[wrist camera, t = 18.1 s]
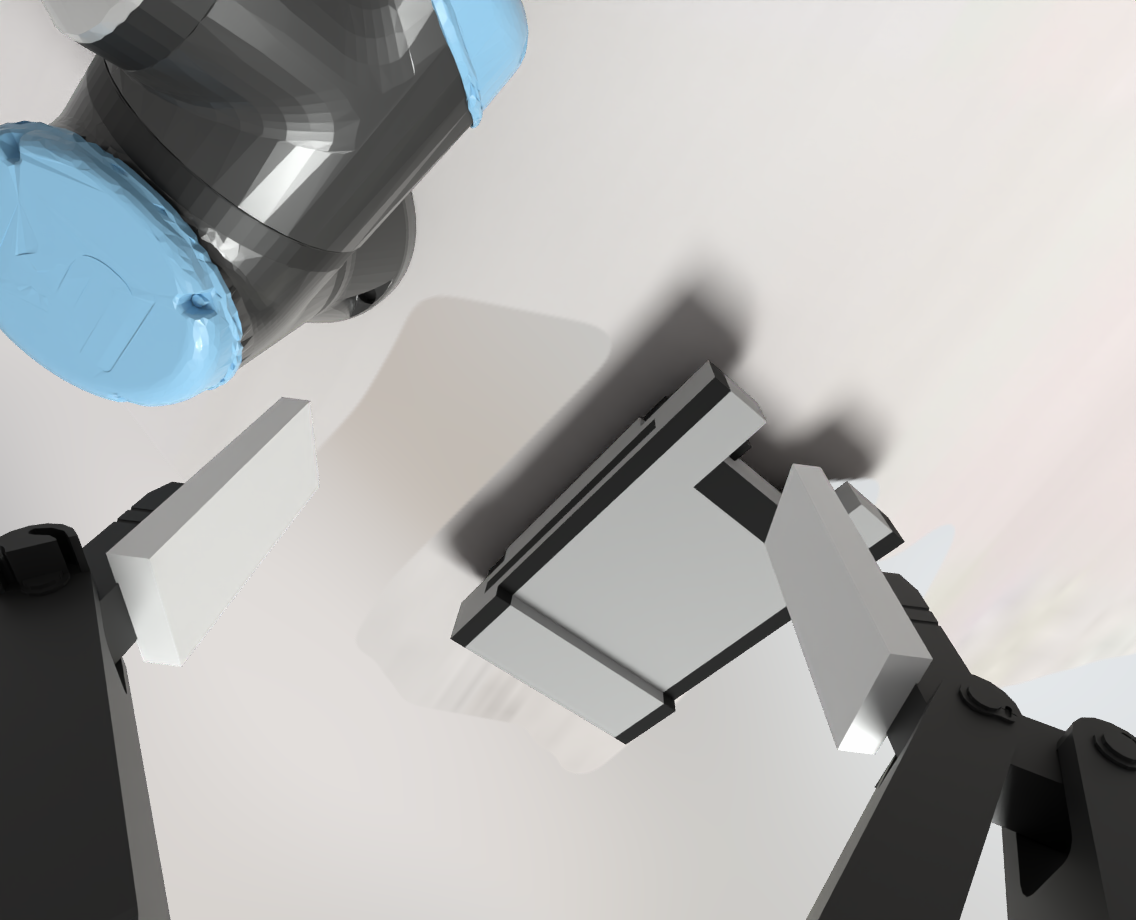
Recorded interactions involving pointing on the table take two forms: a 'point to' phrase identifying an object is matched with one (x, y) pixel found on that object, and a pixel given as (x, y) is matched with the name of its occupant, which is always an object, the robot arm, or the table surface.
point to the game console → (647, 566)
